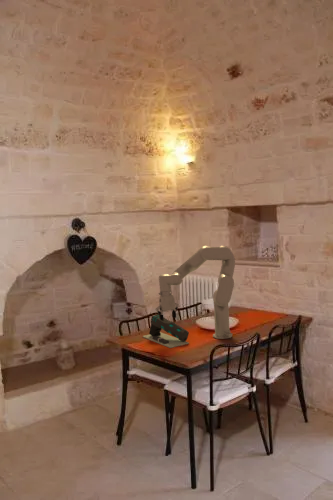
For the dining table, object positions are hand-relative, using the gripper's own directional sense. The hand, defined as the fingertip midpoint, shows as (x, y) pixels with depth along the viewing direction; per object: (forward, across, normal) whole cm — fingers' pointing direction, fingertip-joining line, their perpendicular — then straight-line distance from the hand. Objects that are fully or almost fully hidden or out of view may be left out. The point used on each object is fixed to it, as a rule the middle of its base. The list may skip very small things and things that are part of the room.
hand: (168, 318), depth 315 cm
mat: (+14, -4, +1) cm, 14 cm away
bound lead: (+13, -8, -1) cm, 15 cm away
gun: (+13, -1, 0) cm, 13 cm away
